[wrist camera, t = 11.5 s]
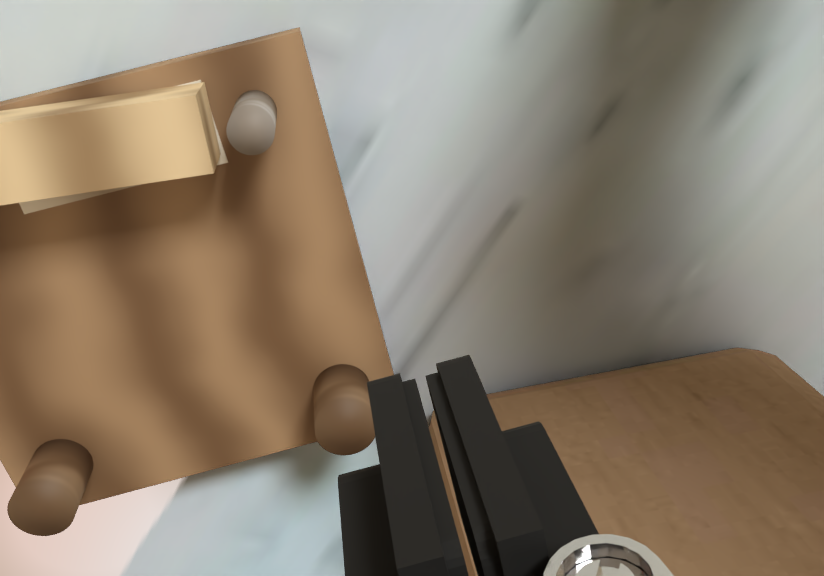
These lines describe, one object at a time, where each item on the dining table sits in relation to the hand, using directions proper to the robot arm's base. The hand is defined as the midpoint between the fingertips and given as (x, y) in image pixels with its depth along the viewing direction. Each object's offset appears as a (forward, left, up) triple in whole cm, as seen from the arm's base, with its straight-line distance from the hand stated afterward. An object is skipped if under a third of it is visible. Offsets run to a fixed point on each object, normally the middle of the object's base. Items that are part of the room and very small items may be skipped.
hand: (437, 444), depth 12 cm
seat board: (+12, +7, -29) cm, 32 cm away
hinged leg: (+11, -2, -27) cm, 29 cm away
